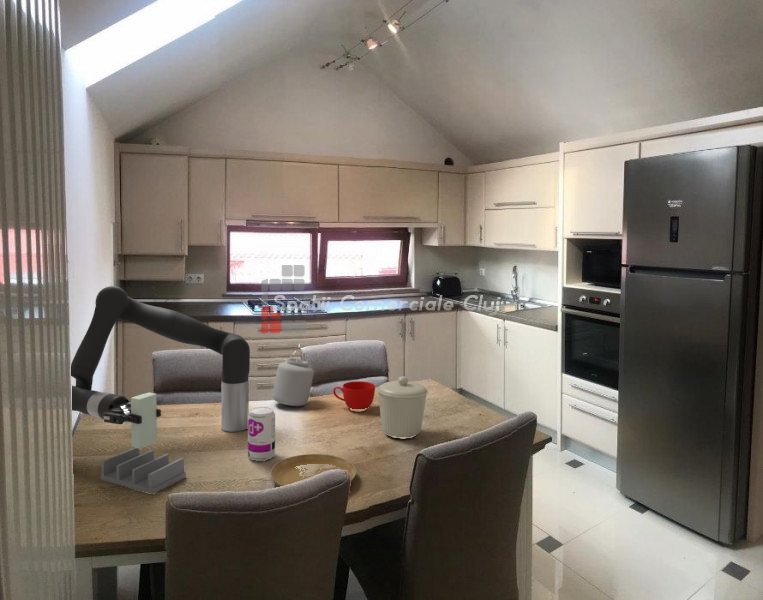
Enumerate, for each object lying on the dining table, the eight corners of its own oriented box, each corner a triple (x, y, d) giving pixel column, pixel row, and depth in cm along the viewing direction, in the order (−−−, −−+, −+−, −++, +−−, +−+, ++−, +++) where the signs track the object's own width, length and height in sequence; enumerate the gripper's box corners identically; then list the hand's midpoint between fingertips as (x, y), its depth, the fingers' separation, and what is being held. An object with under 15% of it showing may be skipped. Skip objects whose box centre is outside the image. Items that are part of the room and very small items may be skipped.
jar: (306, 396, 232) (307, 339, 229) (324, 405, 220) (325, 345, 217) (266, 402, 221) (266, 343, 218) (281, 413, 209) (282, 350, 206)
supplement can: (261, 464, 162) (262, 416, 160) (242, 458, 166) (242, 411, 164) (280, 455, 169) (280, 409, 167) (261, 449, 173) (261, 404, 171)
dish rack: (100, 479, 149) (100, 460, 148) (136, 463, 160) (135, 445, 159) (152, 495, 141) (151, 475, 141) (185, 477, 152) (185, 458, 152)
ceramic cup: (336, 403, 224) (337, 379, 222) (376, 405, 221) (377, 382, 220) (329, 412, 211) (329, 388, 210) (371, 416, 209) (372, 391, 207)
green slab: (131, 446, 148) (130, 397, 147) (149, 439, 154) (148, 392, 152) (139, 448, 147) (138, 399, 146) (156, 441, 153) (156, 394, 151)
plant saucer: (316, 456, 170) (317, 446, 169) (373, 481, 154) (373, 470, 154) (252, 481, 152) (252, 469, 151) (309, 511, 136) (309, 499, 136)
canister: (437, 435, 191) (439, 377, 188) (403, 448, 178) (406, 386, 175) (398, 422, 203) (400, 367, 201) (365, 433, 190) (366, 375, 187)
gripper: (85, 400, 148) (128, 410, 142) (128, 388, 162) (170, 396, 155) (85, 426, 149) (129, 438, 143) (129, 412, 162) (170, 422, 156)
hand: (150, 416), depth 149 cm, fingers closed on green slab, 6 cm apart
